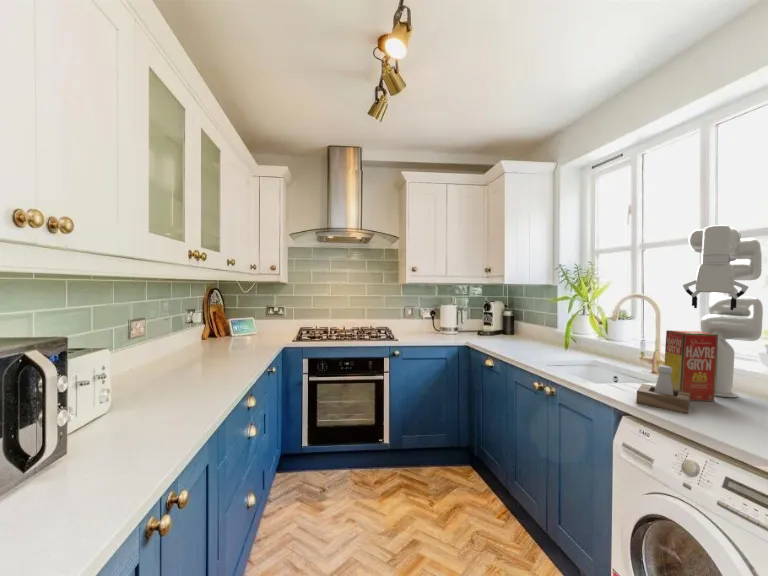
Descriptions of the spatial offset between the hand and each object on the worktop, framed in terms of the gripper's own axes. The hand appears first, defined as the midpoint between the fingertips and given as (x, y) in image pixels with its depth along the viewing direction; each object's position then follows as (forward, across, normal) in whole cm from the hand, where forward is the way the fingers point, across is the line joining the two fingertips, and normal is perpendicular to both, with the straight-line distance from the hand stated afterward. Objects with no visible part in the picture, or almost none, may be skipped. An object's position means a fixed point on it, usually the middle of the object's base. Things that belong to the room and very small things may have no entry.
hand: (713, 309), depth 131 cm
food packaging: (+34, +6, -7) cm, 36 cm away
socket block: (+35, +12, +12) cm, 39 cm away
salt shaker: (+34, +12, +11) cm, 38 cm away
